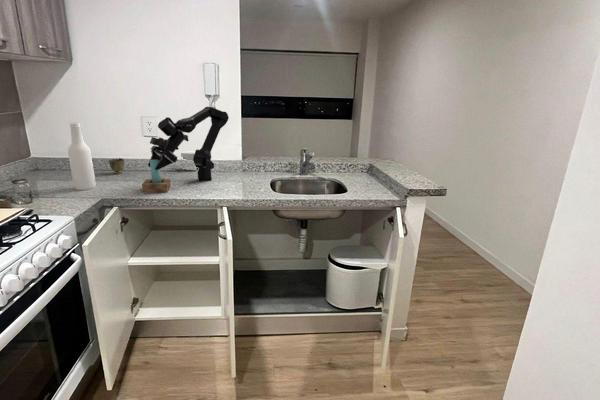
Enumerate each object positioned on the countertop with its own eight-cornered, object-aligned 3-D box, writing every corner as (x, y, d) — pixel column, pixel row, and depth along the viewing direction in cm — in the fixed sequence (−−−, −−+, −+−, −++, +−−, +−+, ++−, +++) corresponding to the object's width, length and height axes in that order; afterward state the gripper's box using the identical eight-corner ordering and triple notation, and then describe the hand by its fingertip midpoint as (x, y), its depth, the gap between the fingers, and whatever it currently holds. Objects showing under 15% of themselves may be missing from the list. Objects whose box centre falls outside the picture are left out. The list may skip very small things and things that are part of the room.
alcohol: (100, 186, 166) (90, 122, 157) (88, 190, 158) (77, 124, 149) (82, 185, 167) (72, 121, 158) (69, 190, 158) (58, 123, 149)
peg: (162, 188, 165) (159, 159, 161) (161, 190, 162) (158, 161, 158) (153, 188, 165) (150, 159, 161) (152, 190, 161) (148, 161, 157)
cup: (108, 173, 191) (106, 159, 189) (122, 171, 197) (120, 157, 194) (113, 175, 187) (111, 161, 184) (127, 173, 192) (126, 159, 189)
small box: (198, 169, 208) (197, 151, 205) (195, 171, 203) (194, 153, 199) (186, 168, 209) (184, 151, 205) (182, 170, 203) (180, 152, 200)
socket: (170, 186, 169) (170, 178, 168) (167, 192, 159) (166, 183, 158) (147, 186, 167) (146, 178, 166) (142, 192, 157) (141, 184, 156)
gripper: (153, 128, 164) (131, 153, 160) (168, 132, 151) (144, 160, 147) (170, 144, 172) (150, 168, 168) (186, 149, 158) (164, 175, 155)
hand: (152, 167), depth 159 cm, fingers open, 9 cm apart
